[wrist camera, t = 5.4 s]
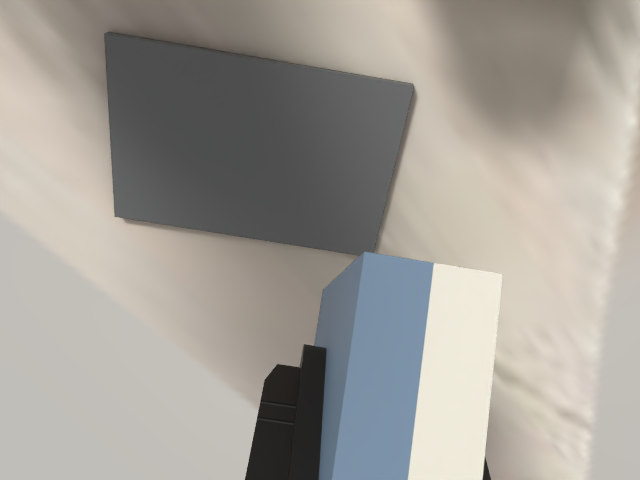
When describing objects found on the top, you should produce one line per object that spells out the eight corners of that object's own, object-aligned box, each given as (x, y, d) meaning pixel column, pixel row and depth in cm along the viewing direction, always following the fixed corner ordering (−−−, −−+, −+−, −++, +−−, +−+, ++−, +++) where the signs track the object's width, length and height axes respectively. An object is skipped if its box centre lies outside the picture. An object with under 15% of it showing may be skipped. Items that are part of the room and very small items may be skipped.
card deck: (322, 289, 16) (363, 251, 7) (385, 300, 16) (502, 274, 7) (289, 510, 15) (289, 778, 6) (356, 520, 15) (451, 798, 6)
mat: (108, 31, 20) (104, 33, 20) (413, 83, 21) (414, 86, 20) (118, 212, 24) (114, 216, 24) (372, 252, 25) (372, 257, 24)
